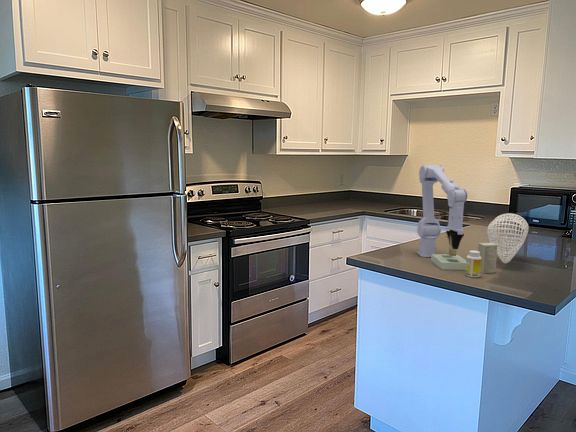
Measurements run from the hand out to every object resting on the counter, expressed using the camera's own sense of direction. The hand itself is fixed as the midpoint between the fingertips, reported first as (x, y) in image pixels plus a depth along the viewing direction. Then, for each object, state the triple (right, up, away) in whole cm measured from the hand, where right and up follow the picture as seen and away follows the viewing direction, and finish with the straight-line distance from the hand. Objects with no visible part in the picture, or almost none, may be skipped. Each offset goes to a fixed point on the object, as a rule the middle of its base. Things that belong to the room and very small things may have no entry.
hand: (453, 248), depth 187 cm
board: (0, -8, +5) cm, 10 cm away
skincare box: (+12, -10, -5) cm, 16 cm away
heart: (+27, -8, +10) cm, 30 cm away
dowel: (0, -3, 0) cm, 3 cm away
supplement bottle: (+3, -11, -12) cm, 16 cm away
